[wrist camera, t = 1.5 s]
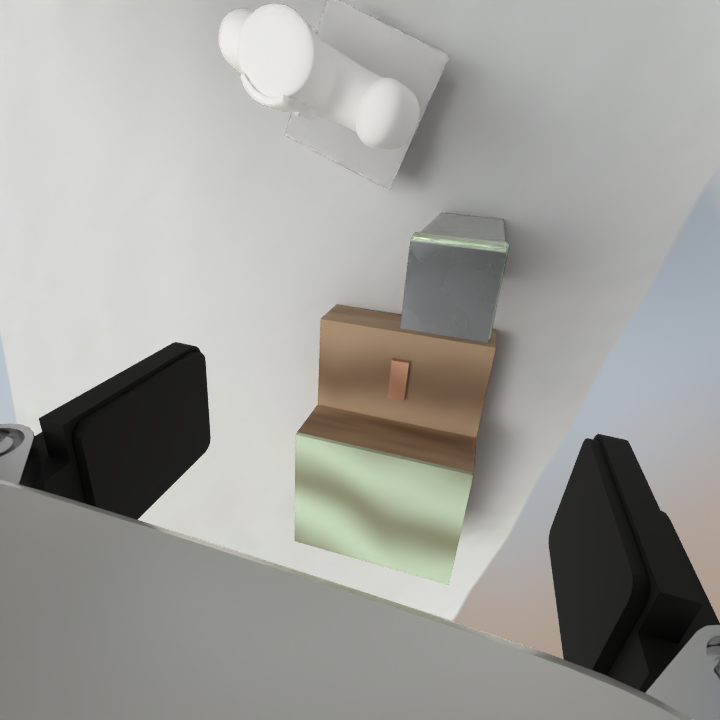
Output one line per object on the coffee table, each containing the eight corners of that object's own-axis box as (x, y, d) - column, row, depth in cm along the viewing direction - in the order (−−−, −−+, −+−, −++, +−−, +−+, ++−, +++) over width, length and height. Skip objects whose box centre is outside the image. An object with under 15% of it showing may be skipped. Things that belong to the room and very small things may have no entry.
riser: (336, 304, 34) (296, 340, 28) (496, 329, 32) (495, 376, 25) (328, 478, 42) (294, 540, 35) (457, 510, 39) (448, 585, 32)
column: (440, 210, 30) (408, 239, 19) (505, 217, 29) (509, 250, 18) (431, 273, 31) (397, 330, 21) (492, 281, 30) (489, 345, 20)
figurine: (333, 6, 27) (172, -143, 14) (472, 77, 26) (446, -8, 13) (293, 130, 30) (134, 107, 17) (415, 194, 30) (349, 222, 16)
